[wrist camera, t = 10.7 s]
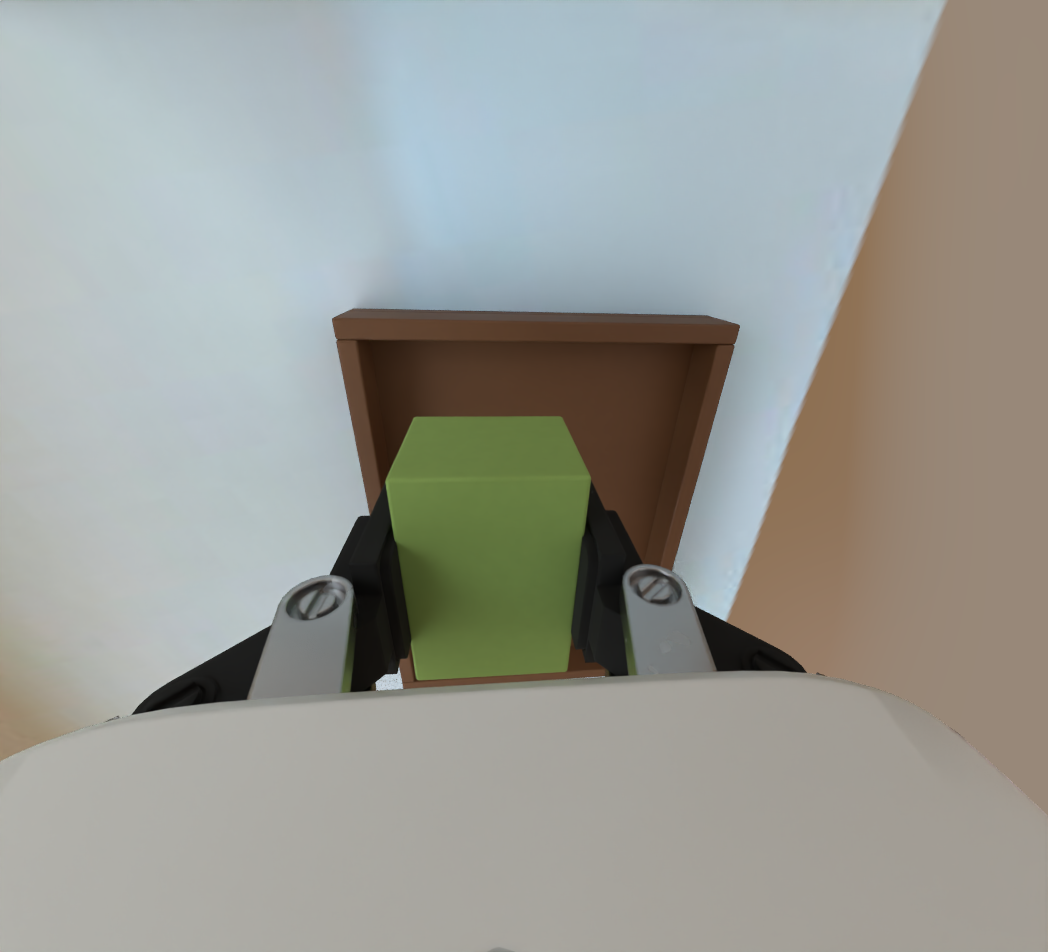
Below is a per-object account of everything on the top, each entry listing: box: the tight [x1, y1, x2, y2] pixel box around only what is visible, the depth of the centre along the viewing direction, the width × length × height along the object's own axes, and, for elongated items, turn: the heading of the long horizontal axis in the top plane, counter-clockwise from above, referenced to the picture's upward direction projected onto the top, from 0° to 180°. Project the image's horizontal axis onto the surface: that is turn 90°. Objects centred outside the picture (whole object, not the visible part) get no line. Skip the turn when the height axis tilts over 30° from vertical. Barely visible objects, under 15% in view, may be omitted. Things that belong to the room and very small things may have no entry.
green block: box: [385, 416, 591, 680], centre depth 11 cm, size 6×4×4 cm, turn 178°
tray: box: [332, 309, 740, 689], centre depth 17 cm, size 17×12×2 cm
